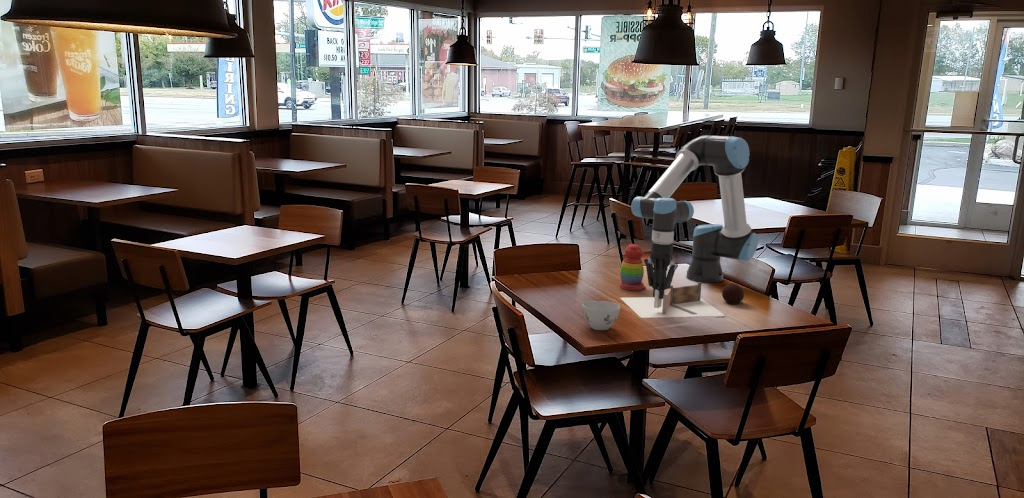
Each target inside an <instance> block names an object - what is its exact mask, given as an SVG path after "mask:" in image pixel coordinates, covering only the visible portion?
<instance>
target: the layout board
mask: <svg viewBox="0 0 1024 498" xmlns="http://www.w3.org/2000/svg"><path fill="white" fill-rule="evenodd" d="M620 300H622V302H624V303H625V304H626V305H627V306H628V307H629V308H630V309H631V310H632V311H633V312H634V313H635V314H636V315H637V316H638V317H639V318H640V319H647V318H649V319H652V318H653V319H654V318H659V319H660V318H691V317H694V318H695V317H696V318H697V317H698V318H699V317H702V318H703V317H704V318H705V317H714V318H715V319H716V318H717V319H719V318H720V319H721V318H727V316H726V315H725V314H724V313H723V312H722V311H720V310H718V309H717V308H715V307H714V306H713V305H711V304H710V303H708V302H706V301H705V300H704V299H702V298H701V297H700V300H696V301H689V302H682V303H675V304H673V303H672V304H671V305H669V307H668V309H667V311H666V314H662V307H663V299H662V305H661V307H659V308H655V307H654V297H653V296H647V297H646V296H642V297H641V296H639V297H638V296H636V297H620Z"/></svg>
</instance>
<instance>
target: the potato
mask: <svg viewBox="0 0 1024 498" xmlns="http://www.w3.org/2000/svg"><path fill="white" fill-rule="evenodd" d="M721 296H722V299H723V300H724V301H725V302H727V303H728V304H731V305H738V304H740V303H741V302H743V300H744V298H745V293H744V290H743V288H742V287H741V286H740V285H739V284H737V283H728V284H727V285H725V286H724V287H722V291H721Z"/></svg>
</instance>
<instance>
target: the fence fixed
mask: <svg viewBox="0 0 1024 498" xmlns="http://www.w3.org/2000/svg"><path fill="white" fill-rule="evenodd" d="M702 283H703V282H700V281H697V284H691V285H684V286H678V287H677V286H673V285H672V284H671V285H670V288H669V289H671V297H670V305H671V304H672V303H673V304H675V303H682V302H689V301H696V300H700V298H701V295H702Z"/></svg>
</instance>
